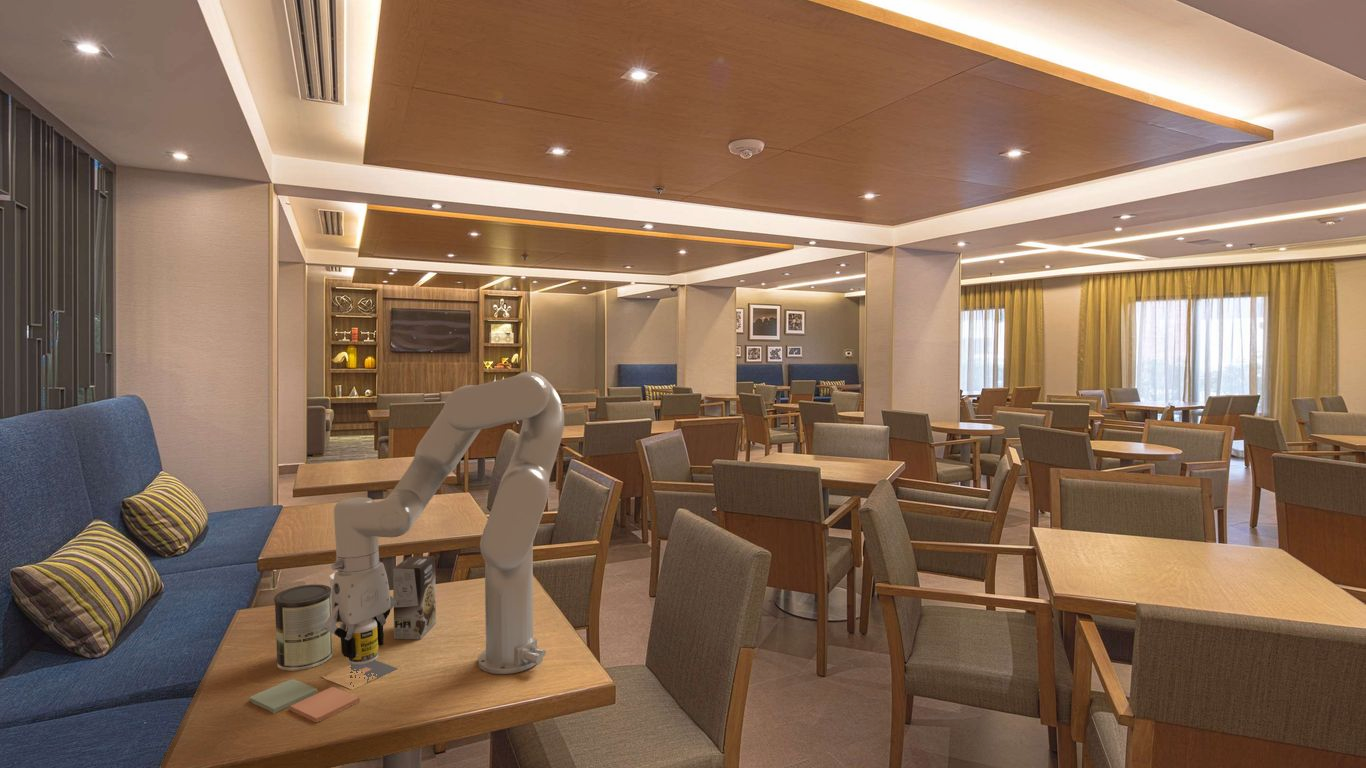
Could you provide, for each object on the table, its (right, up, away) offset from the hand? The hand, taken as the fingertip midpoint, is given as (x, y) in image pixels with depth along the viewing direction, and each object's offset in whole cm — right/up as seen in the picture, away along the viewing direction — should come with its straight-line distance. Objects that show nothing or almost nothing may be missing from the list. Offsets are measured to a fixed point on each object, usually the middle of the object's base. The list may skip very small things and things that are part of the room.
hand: (363, 649), depth 136 cm
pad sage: (-10, -5, -9) cm, 15 cm away
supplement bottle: (0, -2, 0) cm, 2 cm away
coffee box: (+3, -4, +20) cm, 21 cm away
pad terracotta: (-1, -5, -12) cm, 14 cm away
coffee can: (-15, -4, +6) cm, 17 cm away
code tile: (-1, -5, 0) cm, 5 cm away
